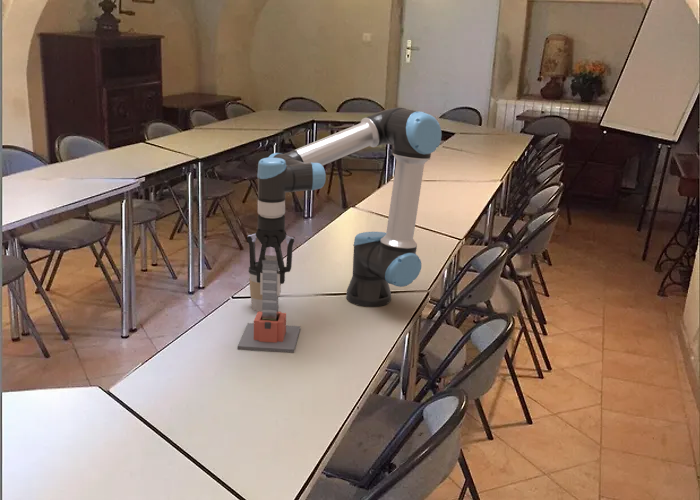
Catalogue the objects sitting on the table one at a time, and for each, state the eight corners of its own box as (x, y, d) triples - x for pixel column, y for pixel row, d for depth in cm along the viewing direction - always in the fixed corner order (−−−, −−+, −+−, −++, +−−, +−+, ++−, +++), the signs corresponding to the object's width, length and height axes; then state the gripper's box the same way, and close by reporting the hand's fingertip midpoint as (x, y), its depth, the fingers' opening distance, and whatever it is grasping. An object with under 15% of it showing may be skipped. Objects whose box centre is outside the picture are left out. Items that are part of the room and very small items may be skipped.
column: (278, 317, 209) (279, 256, 203) (276, 323, 205) (277, 261, 199) (263, 316, 209) (264, 255, 203) (261, 322, 205) (261, 260, 199)
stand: (300, 329, 216) (300, 307, 214) (293, 352, 201) (294, 329, 199) (247, 326, 217) (247, 304, 214) (237, 349, 201) (237, 325, 199)
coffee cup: (271, 314, 226) (272, 269, 221) (244, 310, 227) (244, 266, 223) (280, 303, 234) (280, 260, 230) (253, 300, 236) (253, 257, 231)
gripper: (303, 212, 200) (301, 290, 208) (243, 209, 201) (243, 286, 208) (300, 219, 193) (298, 300, 201) (237, 216, 194) (238, 296, 201)
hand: (270, 293), depth 204 cm, fingers closed on column, 4 cm apart
